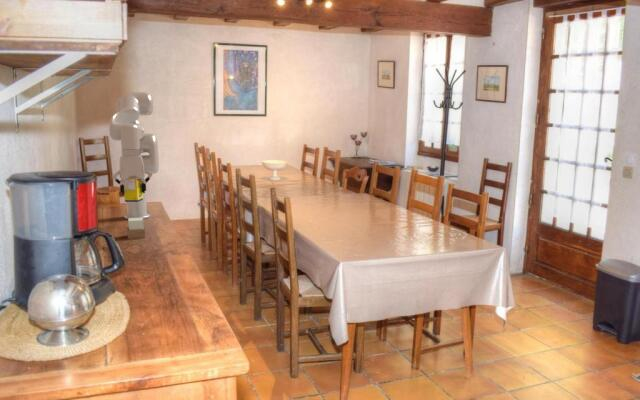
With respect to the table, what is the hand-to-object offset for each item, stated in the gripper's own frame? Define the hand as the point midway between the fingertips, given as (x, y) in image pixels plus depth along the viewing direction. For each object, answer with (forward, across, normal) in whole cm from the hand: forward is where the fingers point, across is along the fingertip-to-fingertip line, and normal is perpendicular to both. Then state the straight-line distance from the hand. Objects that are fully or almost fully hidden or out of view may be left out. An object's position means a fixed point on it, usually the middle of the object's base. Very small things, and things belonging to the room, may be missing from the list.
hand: (133, 193), depth 253 cm
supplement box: (+4, 0, 0) cm, 4 cm away
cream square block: (+16, 0, 0) cm, 16 cm away
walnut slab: (+20, 0, 0) cm, 20 cm away
